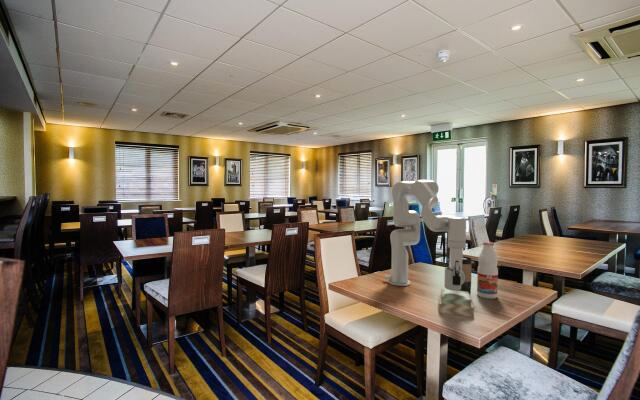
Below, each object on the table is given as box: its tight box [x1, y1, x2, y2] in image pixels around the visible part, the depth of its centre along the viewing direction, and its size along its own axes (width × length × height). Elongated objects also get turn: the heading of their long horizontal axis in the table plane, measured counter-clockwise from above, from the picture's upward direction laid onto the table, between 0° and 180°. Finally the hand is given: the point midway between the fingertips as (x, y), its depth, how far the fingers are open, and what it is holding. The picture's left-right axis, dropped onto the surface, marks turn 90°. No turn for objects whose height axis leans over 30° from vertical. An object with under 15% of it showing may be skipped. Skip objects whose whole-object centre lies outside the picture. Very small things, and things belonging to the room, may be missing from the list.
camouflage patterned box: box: [438, 288, 475, 318], centre depth 150 cm, size 14×14×7 cm
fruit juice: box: [476, 241, 499, 300], centre depth 169 cm, size 9×9×28 cm
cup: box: [443, 266, 465, 290], centre depth 150 cm, size 7×10×9 cm
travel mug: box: [456, 256, 473, 296], centre depth 168 cm, size 8×8×20 cm
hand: (455, 282), depth 150 cm, fingers closed on cup, 7 cm apart
